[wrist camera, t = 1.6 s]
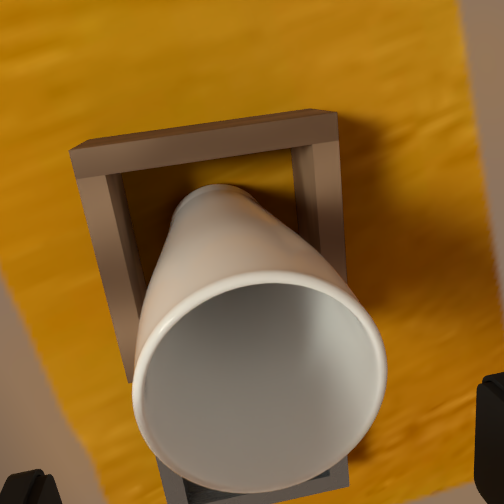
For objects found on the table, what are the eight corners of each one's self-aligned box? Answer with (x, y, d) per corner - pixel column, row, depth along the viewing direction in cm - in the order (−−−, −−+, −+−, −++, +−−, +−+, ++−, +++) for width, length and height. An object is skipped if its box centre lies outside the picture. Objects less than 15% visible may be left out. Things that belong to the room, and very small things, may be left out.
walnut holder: (88, 139, 23) (68, 150, 19) (309, 108, 24) (337, 112, 20) (136, 337, 27) (128, 383, 23) (325, 303, 28) (350, 340, 24)
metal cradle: (132, 347, 27) (128, 371, 25) (330, 311, 29) (343, 330, 26) (168, 494, 31) (168, 526, 29) (341, 456, 32) (353, 485, 30)
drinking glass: (266, 291, 27) (358, 500, 13) (149, 279, 26) (116, 497, 12) (288, 177, 25) (424, 285, 11) (163, 158, 24) (142, 253, 10)
